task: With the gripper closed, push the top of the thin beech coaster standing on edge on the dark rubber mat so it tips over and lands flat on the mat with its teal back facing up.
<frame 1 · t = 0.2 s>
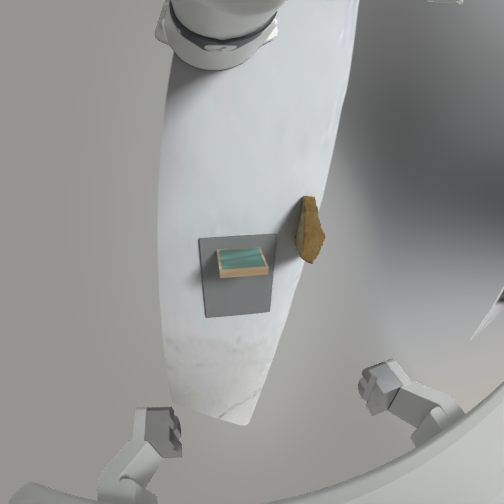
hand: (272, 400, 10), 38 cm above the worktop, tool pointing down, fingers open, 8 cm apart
mat: (238, 278, 54), on the worktop
coaster: (238, 251, 50), resting on mat
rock: (306, 222, 51), on the worktop
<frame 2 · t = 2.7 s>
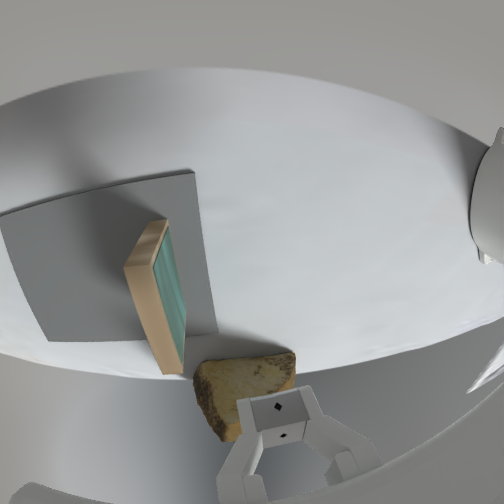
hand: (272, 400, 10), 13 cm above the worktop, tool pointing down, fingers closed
mat: (97, 275, 20), on the worktop
coaster: (168, 269, 20), resting on mat
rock: (244, 366, 27), on the worktop
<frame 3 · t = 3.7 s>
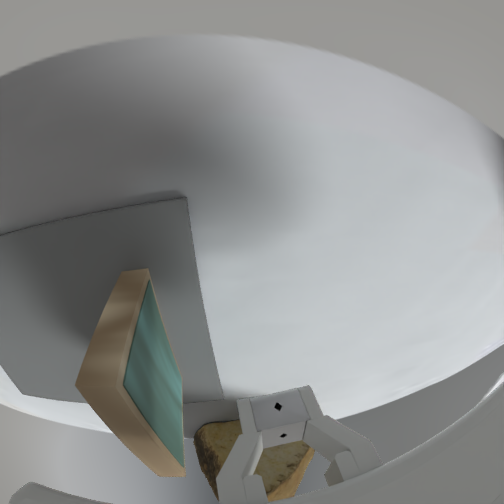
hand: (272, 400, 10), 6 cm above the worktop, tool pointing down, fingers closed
mat: (63, 334, 13), on the worktop
coaster: (154, 333, 14), resting on mat
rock: (254, 424, 21), on the worktop
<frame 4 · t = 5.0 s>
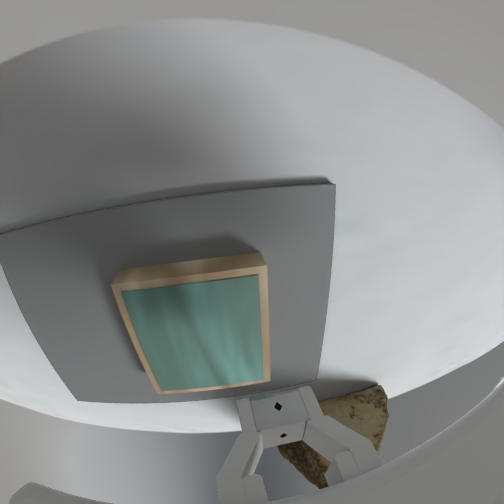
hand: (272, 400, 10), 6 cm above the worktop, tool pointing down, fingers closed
mat: (162, 326, 14), on the worktop
coaster: (266, 325, 14), point 1 cm above the worktop, tilted 90°, touching mat
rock: (326, 406, 22), on the worktop
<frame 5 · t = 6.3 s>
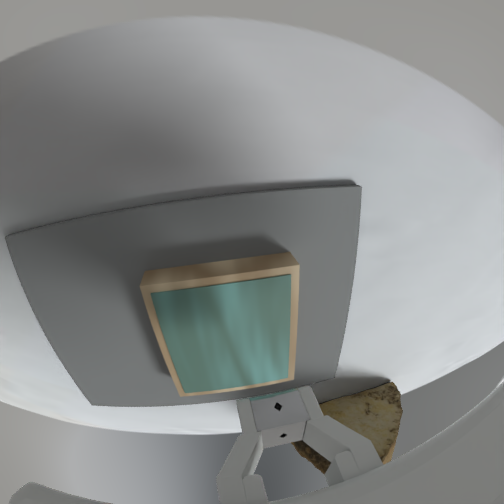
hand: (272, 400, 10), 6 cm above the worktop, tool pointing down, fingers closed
mat: (186, 327, 14), on the worktop
coaster: (293, 324, 14), point 1 cm above the worktop, tilted 90°, touching mat
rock: (341, 403, 22), on the worktop
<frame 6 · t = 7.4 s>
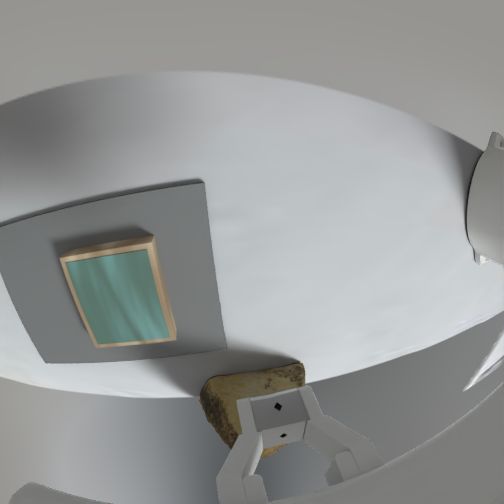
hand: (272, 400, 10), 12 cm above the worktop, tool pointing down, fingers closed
mat: (97, 293, 18), on the worktop
coaster: (164, 291, 18), point 1 cm above the worktop, tilted 90°, touching mat
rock: (251, 380, 26), on the worktop
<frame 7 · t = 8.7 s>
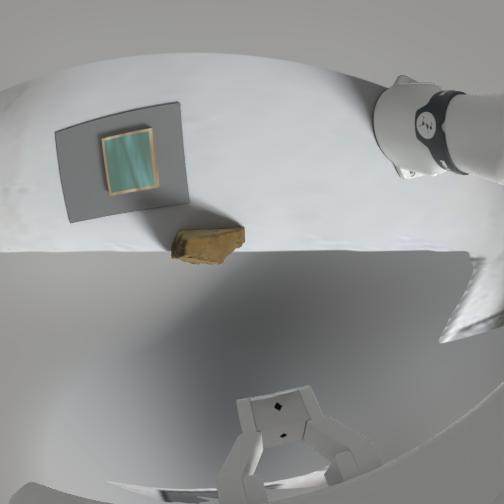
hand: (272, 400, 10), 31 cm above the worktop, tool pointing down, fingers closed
mat: (117, 164, 32), on the worktop
coaster: (155, 157, 32), point 1 cm above the worktop, tilted 90°, touching mat
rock: (208, 239, 40), on the worktop
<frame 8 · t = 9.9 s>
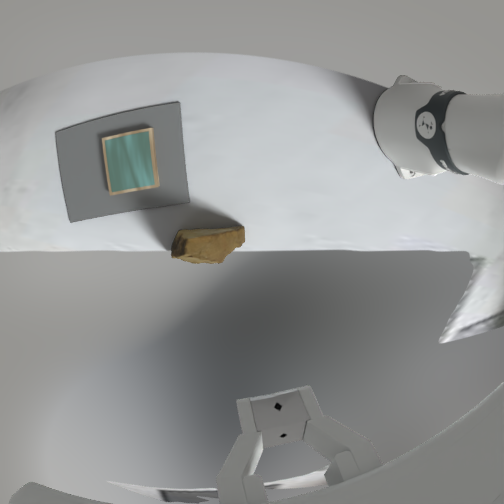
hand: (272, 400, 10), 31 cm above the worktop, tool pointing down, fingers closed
mat: (117, 163, 32), on the worktop
coaster: (155, 157, 32), point 1 cm above the worktop, tilted 90°, touching mat
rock: (208, 239, 40), on the worktop
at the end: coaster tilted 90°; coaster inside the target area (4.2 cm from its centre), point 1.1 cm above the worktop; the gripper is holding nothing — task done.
